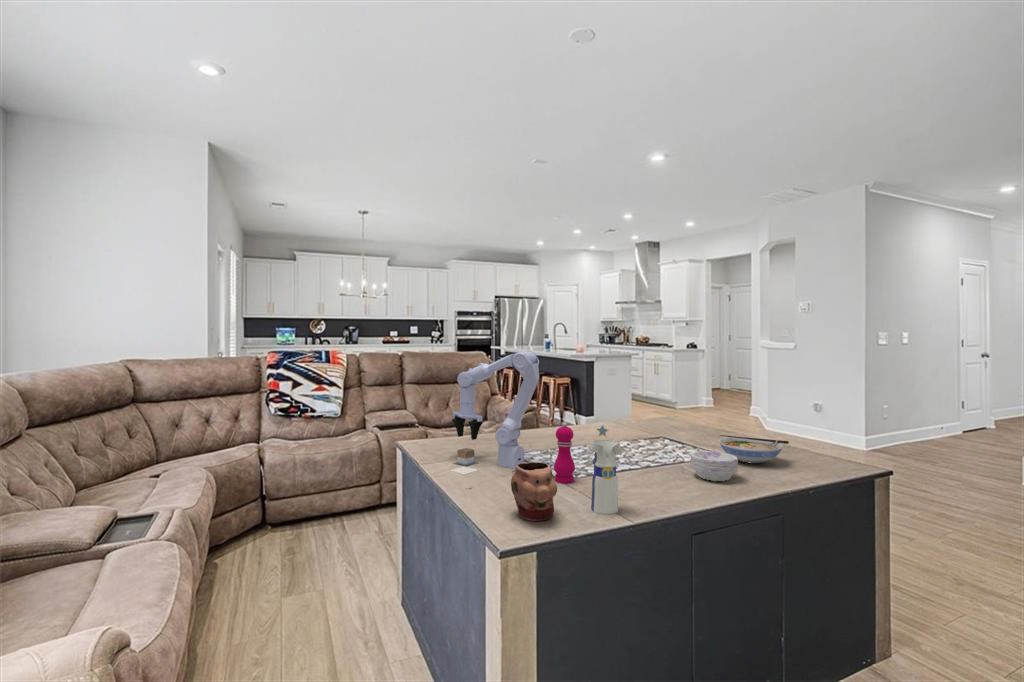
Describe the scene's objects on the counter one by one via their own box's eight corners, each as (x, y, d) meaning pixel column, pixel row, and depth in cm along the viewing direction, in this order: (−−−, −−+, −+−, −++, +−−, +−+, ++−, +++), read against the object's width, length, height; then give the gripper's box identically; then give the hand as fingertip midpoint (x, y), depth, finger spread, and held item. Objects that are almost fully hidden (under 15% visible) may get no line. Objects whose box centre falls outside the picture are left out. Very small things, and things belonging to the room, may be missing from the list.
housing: (474, 463, 187) (474, 449, 187) (465, 465, 184) (465, 452, 184) (465, 460, 190) (465, 447, 190) (457, 463, 187) (457, 450, 187)
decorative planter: (499, 504, 147) (499, 457, 146) (537, 499, 151) (537, 453, 151) (527, 530, 128) (528, 476, 128) (569, 523, 133) (569, 471, 132)
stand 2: (477, 473, 178) (477, 469, 178) (464, 477, 173) (464, 474, 173) (464, 469, 183) (464, 466, 183) (450, 473, 177) (450, 470, 177)
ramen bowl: (709, 463, 193) (709, 442, 193) (722, 451, 212) (722, 432, 211) (782, 474, 178) (782, 451, 178) (789, 460, 197) (789, 439, 197)
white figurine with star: (624, 514, 139) (625, 425, 139) (594, 515, 139) (595, 425, 138) (616, 503, 148) (616, 419, 147) (587, 504, 147) (588, 419, 146)
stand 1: (479, 466, 188) (479, 462, 188) (465, 470, 182) (465, 466, 182) (465, 462, 192) (465, 459, 192) (452, 466, 187) (452, 463, 187)
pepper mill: (576, 478, 172) (577, 420, 172) (572, 484, 165) (572, 424, 165) (556, 476, 175) (556, 419, 174) (551, 482, 168) (551, 423, 167)
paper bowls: (718, 470, 183) (718, 448, 183) (747, 483, 168) (747, 459, 168) (681, 473, 179) (681, 451, 179) (707, 486, 164) (708, 462, 164)
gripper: (447, 401, 194) (446, 436, 194) (473, 405, 184) (472, 442, 185) (460, 399, 199) (460, 433, 200) (486, 403, 190) (486, 439, 190)
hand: (467, 437), depth 193 cm, fingers open, 7 cm apart
